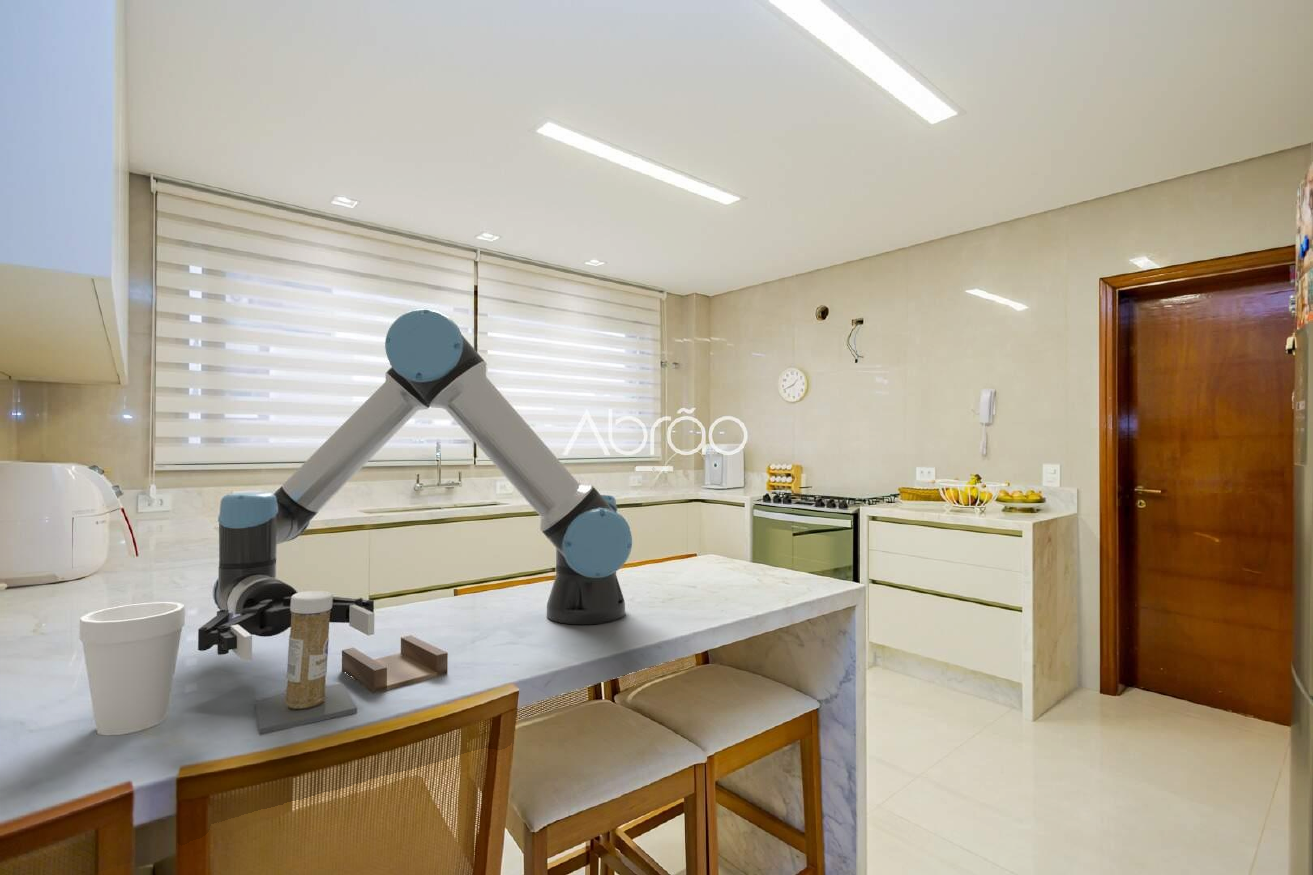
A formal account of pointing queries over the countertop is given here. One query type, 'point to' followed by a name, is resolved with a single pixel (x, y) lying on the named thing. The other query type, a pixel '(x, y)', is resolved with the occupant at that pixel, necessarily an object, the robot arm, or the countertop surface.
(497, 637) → the countertop surface
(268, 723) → the slate coaster
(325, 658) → the spice jar
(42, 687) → the countertop surface
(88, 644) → the foam cup
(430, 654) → the walnut cradle
